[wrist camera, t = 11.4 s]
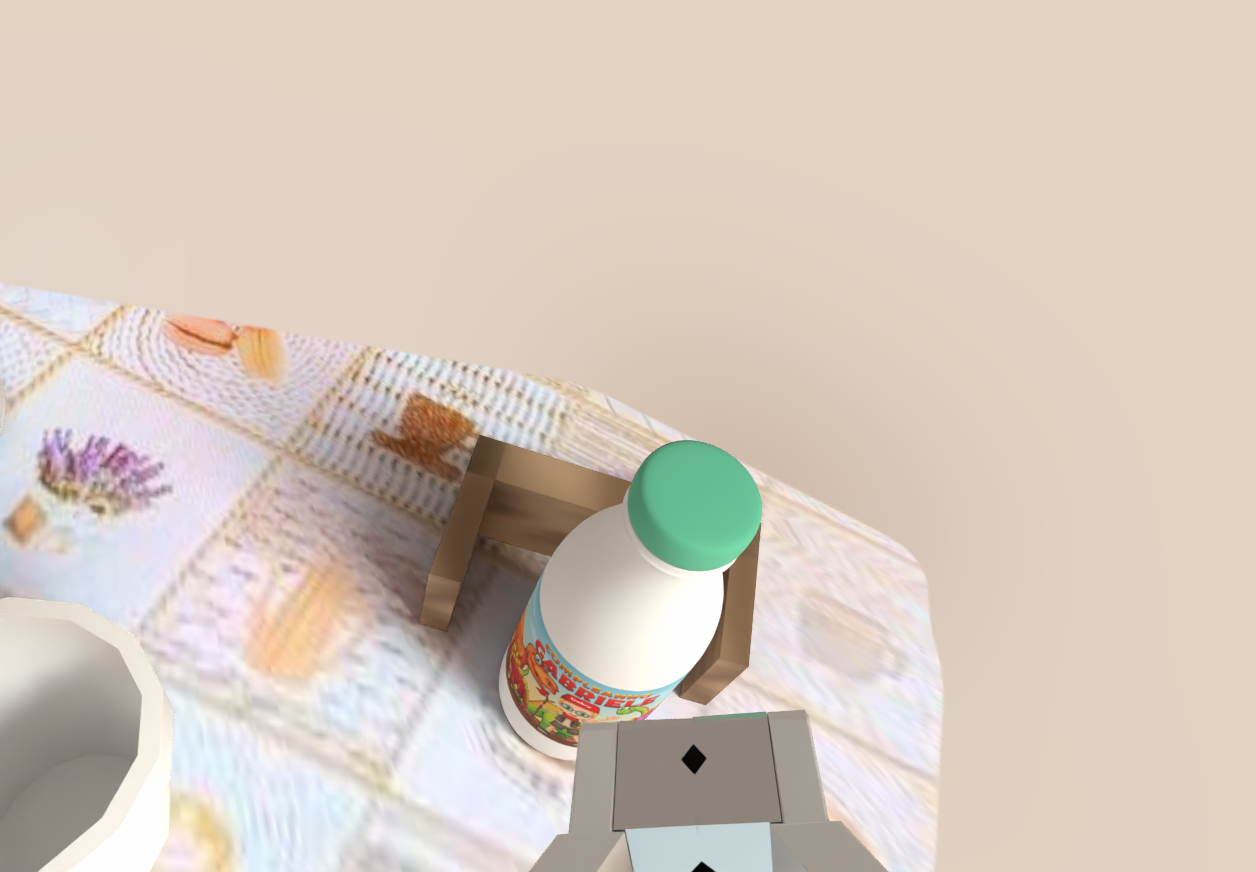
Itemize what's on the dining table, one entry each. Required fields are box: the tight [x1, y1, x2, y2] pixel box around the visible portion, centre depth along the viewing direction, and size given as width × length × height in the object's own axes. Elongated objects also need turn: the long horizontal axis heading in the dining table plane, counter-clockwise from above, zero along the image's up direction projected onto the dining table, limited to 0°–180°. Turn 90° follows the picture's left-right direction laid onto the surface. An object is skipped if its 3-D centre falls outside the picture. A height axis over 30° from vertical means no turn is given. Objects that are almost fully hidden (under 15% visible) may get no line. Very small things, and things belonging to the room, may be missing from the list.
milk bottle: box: [499, 440, 762, 760], centre depth 36 cm, size 8×8×20 cm
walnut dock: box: [419, 435, 761, 705], centre depth 45 cm, size 16×8×6 cm, turn 80°
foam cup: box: [0, 597, 174, 872], centre depth 30 cm, size 10×9×13 cm
